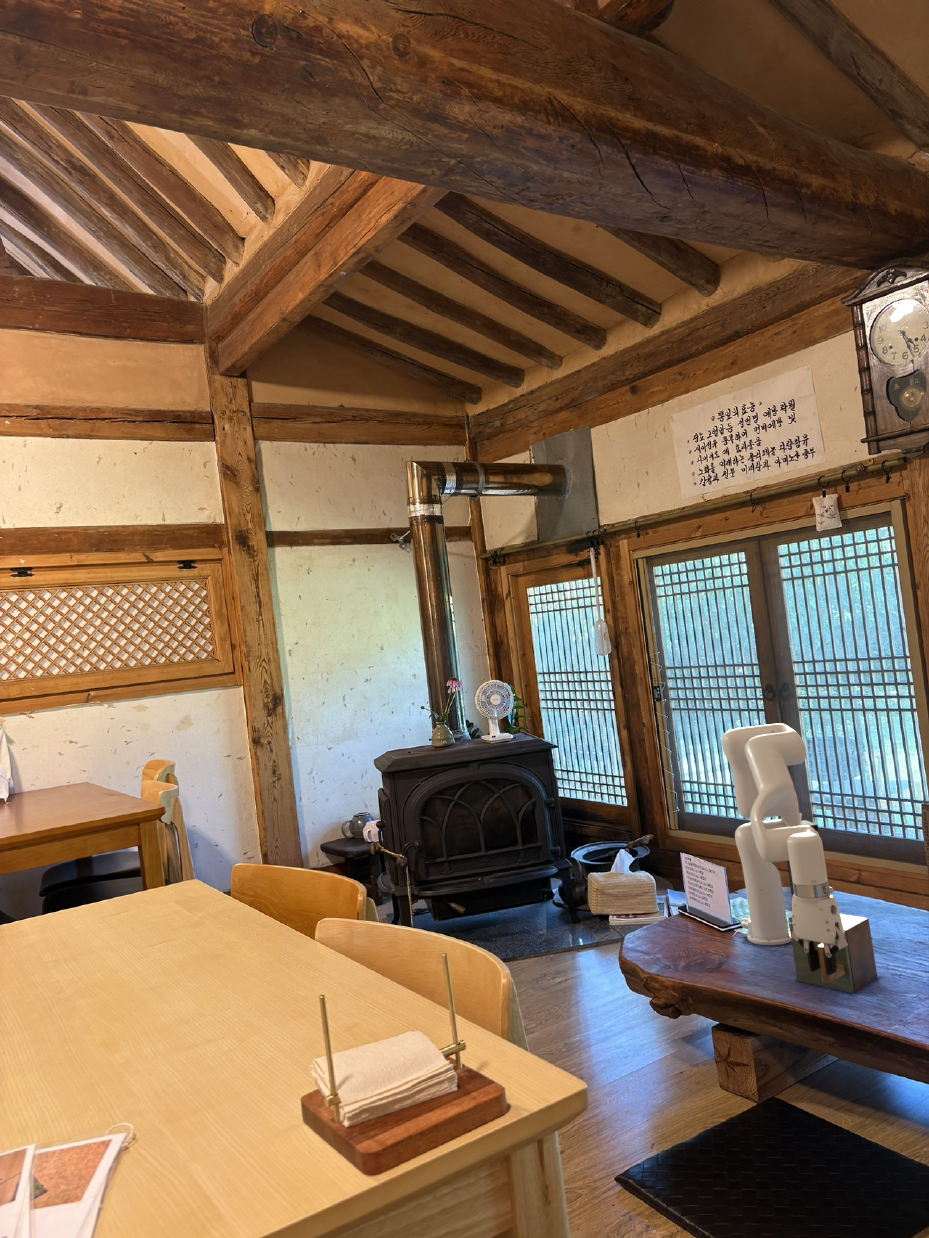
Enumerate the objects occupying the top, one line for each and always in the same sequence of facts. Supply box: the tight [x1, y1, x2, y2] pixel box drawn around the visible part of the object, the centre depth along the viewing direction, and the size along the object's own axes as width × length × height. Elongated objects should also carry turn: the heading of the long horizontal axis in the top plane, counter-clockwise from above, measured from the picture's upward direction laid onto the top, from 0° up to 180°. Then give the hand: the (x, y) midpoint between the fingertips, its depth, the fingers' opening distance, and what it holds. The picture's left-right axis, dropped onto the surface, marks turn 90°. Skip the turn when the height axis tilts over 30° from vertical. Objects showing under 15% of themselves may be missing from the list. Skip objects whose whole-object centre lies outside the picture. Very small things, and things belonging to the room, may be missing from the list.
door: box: [788, 921, 855, 994], centre depth 207 cm, size 8×14×14 cm, turn 37°
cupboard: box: [791, 913, 878, 993], centre depth 213 cm, size 10×14×14 cm
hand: (823, 970), depth 201 cm, fingers open, 3 cm apart
